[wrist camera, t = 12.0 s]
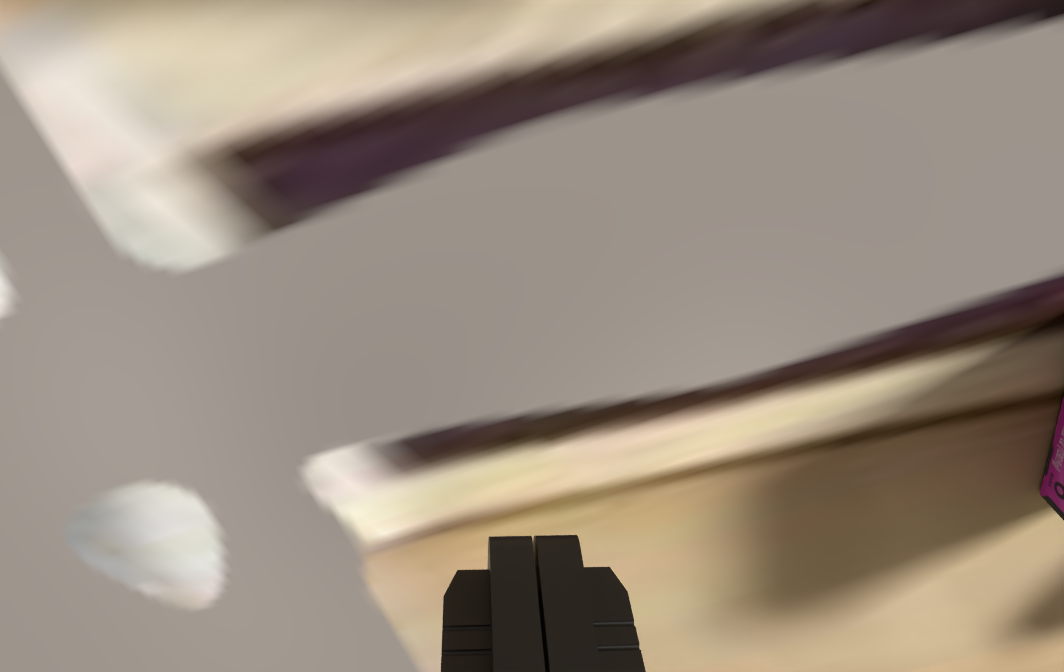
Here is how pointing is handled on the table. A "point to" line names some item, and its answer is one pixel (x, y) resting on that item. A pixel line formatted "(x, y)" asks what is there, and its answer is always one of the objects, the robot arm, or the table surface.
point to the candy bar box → (1055, 469)
